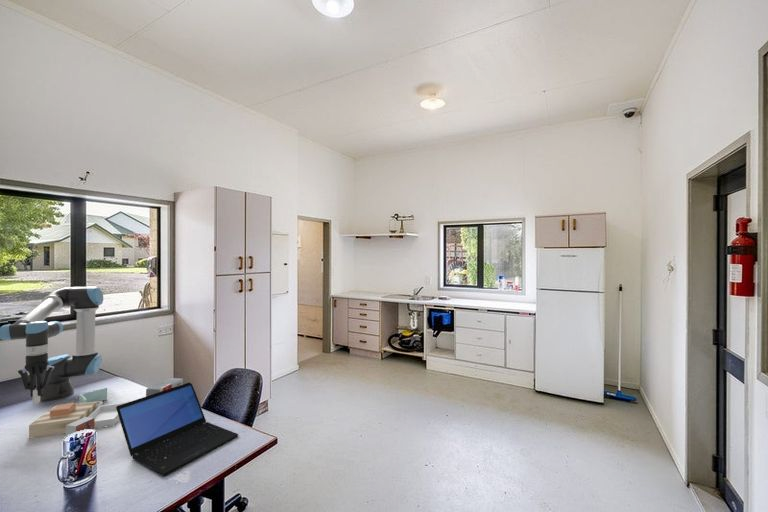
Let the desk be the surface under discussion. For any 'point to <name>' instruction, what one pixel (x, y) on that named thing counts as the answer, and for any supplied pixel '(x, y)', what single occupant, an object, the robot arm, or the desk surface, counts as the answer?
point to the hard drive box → (164, 385)
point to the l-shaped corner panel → (94, 396)
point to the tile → (62, 409)
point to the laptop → (169, 429)
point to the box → (106, 415)
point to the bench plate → (60, 420)
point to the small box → (80, 425)
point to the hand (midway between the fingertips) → (36, 402)
